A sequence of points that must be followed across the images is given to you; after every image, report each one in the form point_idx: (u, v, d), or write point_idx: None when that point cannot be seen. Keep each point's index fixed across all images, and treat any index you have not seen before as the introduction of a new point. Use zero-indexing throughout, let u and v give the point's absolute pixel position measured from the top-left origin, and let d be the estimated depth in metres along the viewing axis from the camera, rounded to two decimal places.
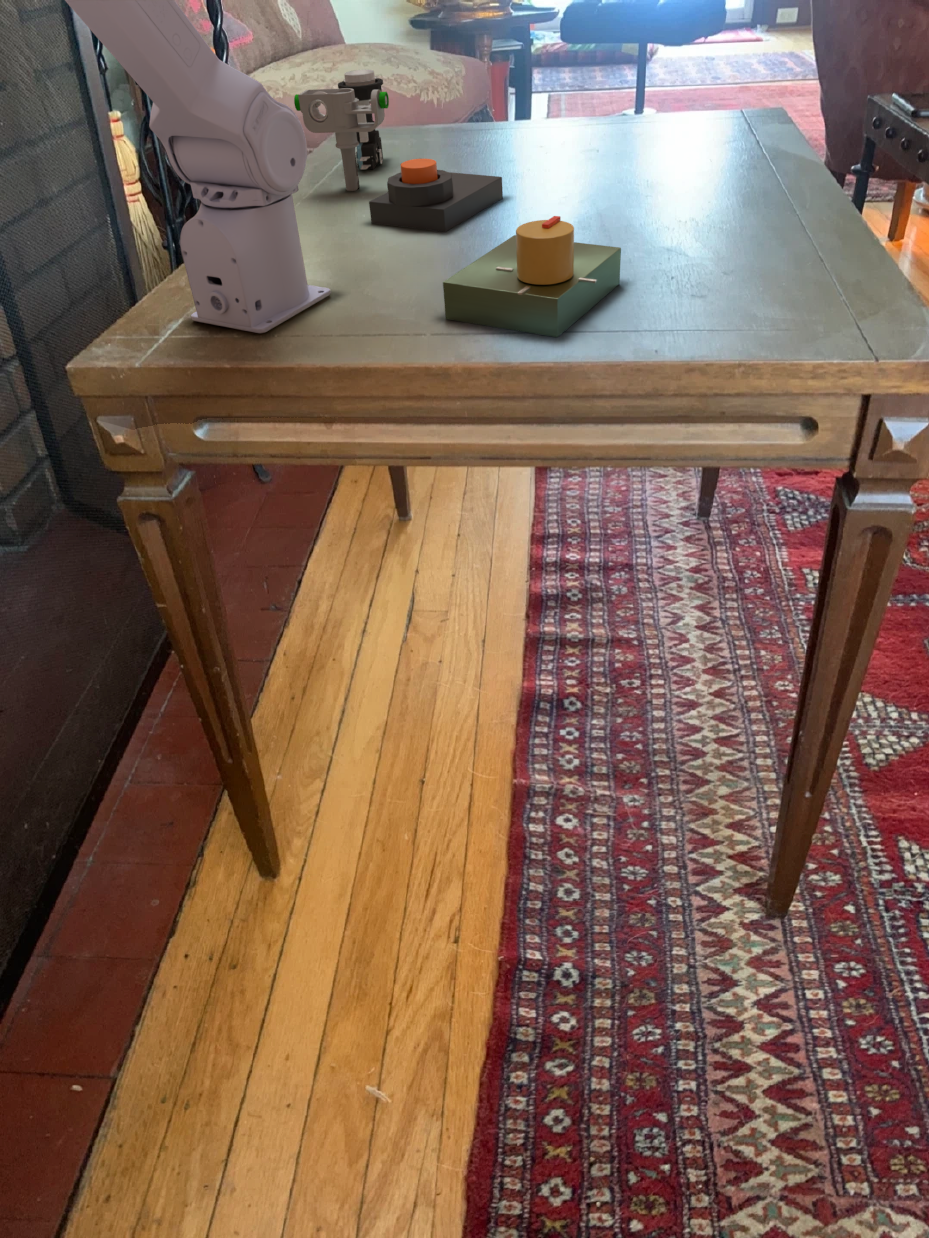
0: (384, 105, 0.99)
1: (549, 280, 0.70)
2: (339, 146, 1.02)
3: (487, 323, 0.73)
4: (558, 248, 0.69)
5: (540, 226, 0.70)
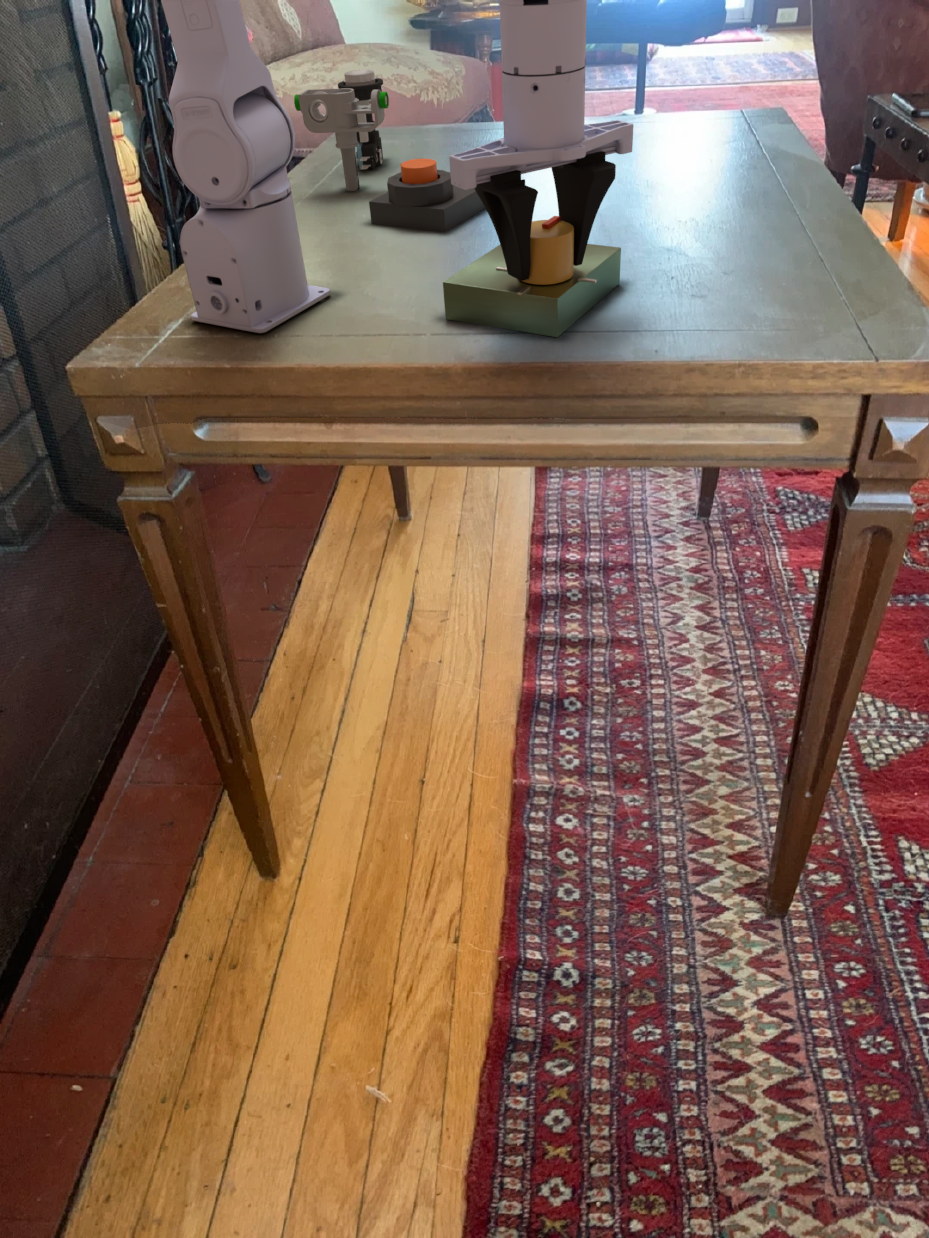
0: (384, 105, 0.99)
1: (549, 280, 0.70)
2: (339, 146, 1.02)
3: (487, 323, 0.73)
4: (558, 248, 0.69)
5: (540, 226, 0.70)
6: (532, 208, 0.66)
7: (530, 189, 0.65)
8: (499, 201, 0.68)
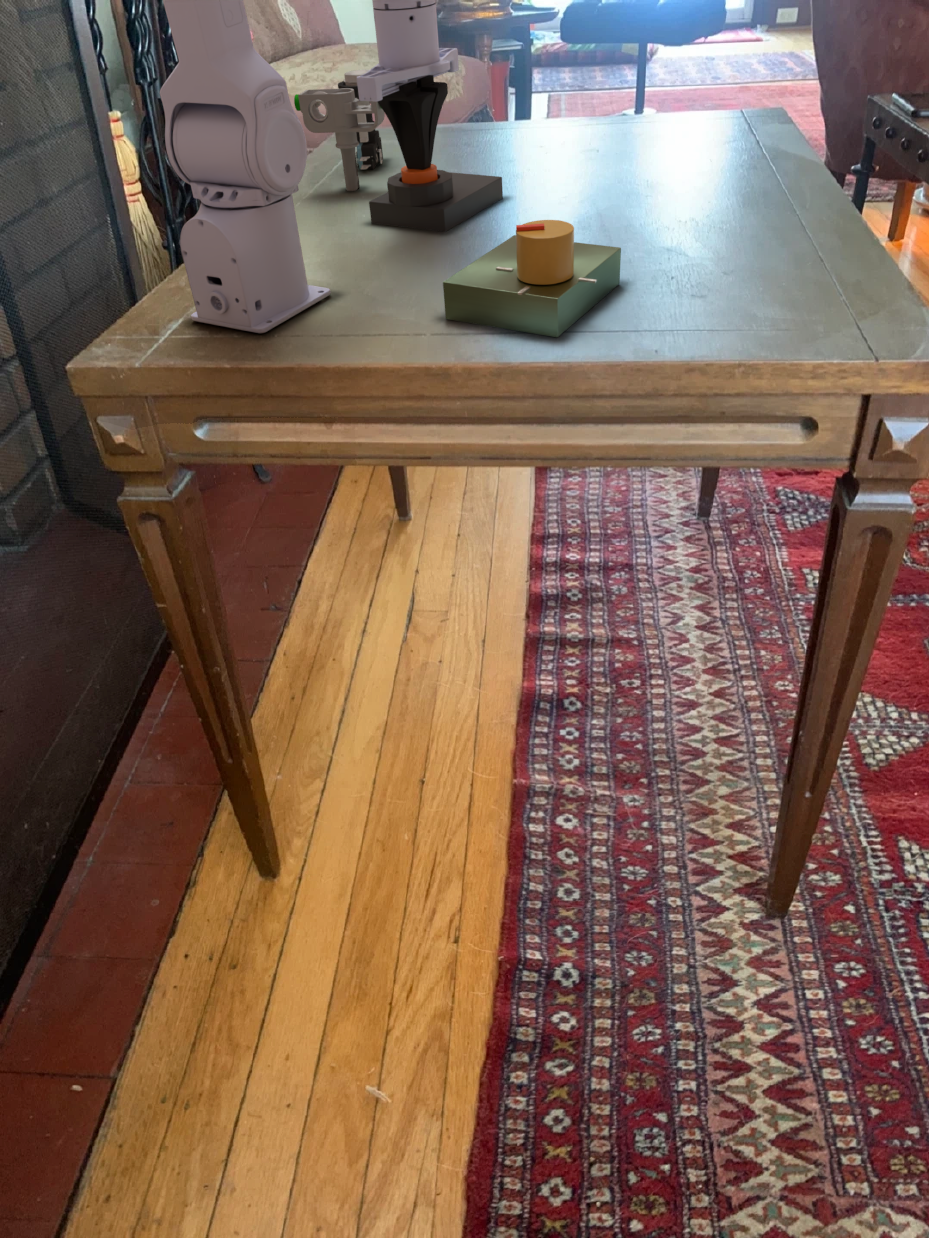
0: None
1: None
2: (339, 146, 1.02)
3: (487, 323, 0.73)
4: None
5: (540, 231, 0.69)
6: (430, 109, 0.88)
7: (430, 92, 0.86)
8: (397, 109, 0.89)
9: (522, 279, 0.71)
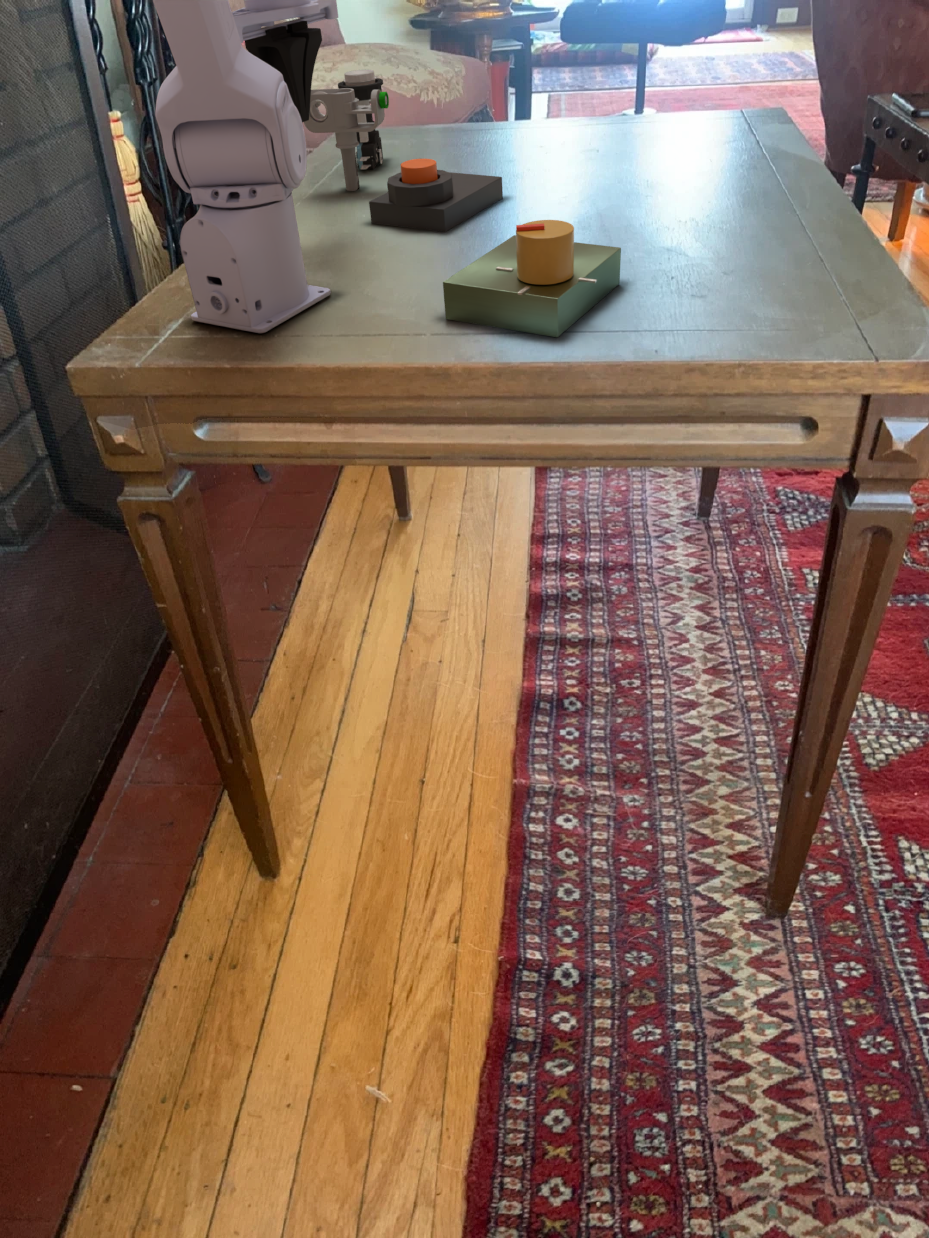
0: (384, 105, 0.99)
1: None
2: (339, 146, 1.02)
3: (487, 323, 0.73)
4: None
5: (540, 231, 0.69)
6: (302, 56, 0.82)
7: (300, 37, 0.81)
8: (268, 57, 0.83)
9: (522, 279, 0.71)
